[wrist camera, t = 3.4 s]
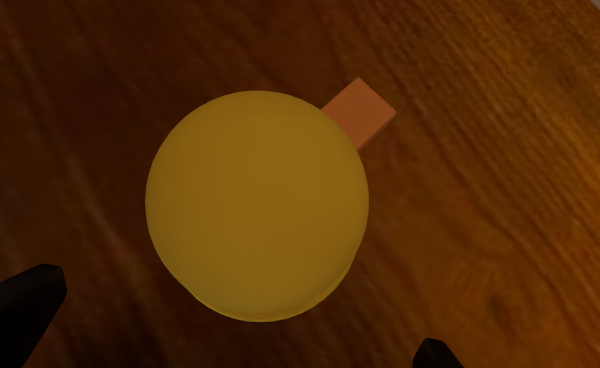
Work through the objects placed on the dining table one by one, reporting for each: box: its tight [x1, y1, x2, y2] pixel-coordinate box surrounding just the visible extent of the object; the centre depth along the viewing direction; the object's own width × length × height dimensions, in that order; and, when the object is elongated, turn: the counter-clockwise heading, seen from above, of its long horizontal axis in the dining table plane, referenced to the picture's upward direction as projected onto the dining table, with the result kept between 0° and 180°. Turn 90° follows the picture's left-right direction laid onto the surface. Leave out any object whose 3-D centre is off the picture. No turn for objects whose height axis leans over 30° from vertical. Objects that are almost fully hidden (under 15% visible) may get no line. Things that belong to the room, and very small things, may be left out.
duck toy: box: [145, 78, 396, 322], centre depth 12 cm, size 6×6×14 cm
